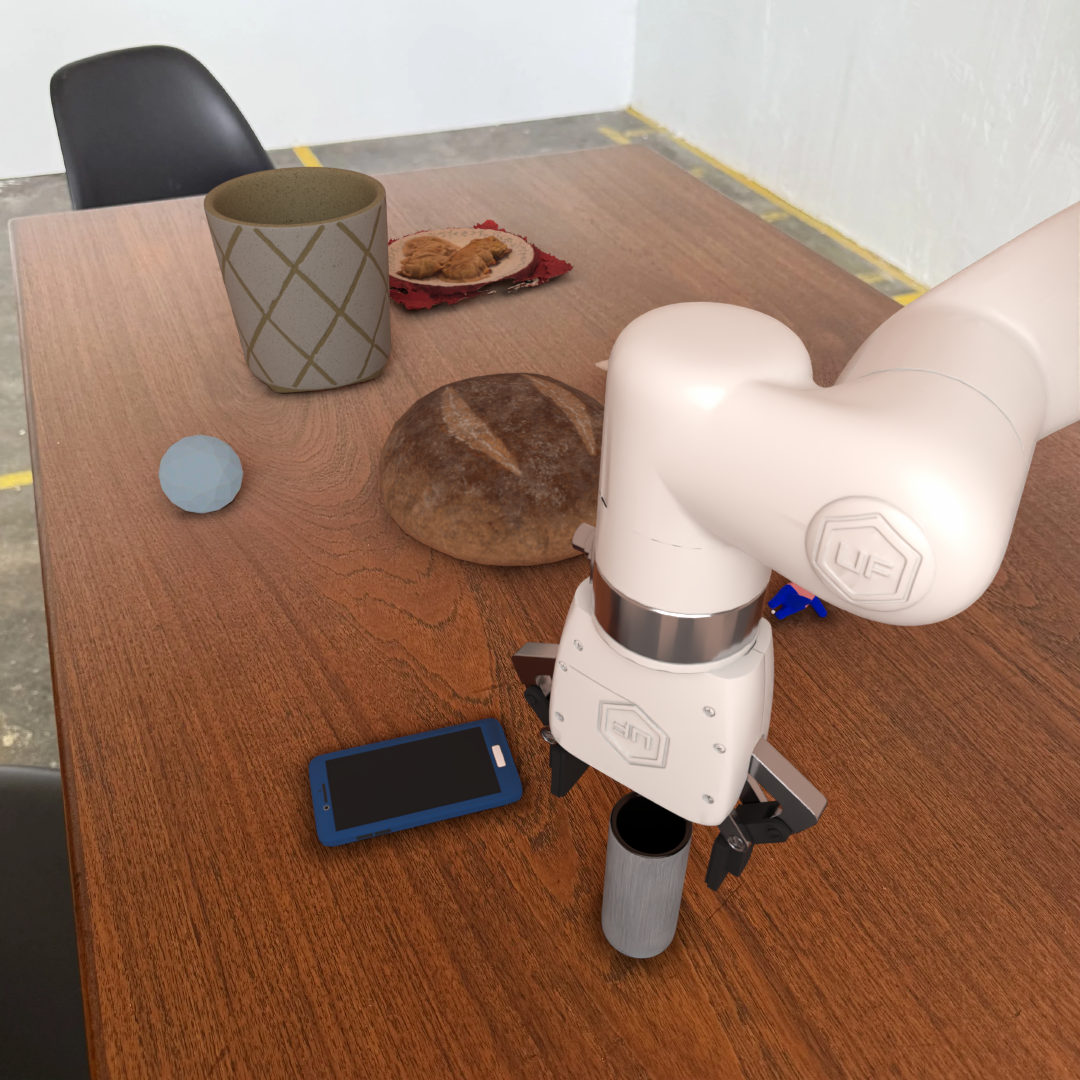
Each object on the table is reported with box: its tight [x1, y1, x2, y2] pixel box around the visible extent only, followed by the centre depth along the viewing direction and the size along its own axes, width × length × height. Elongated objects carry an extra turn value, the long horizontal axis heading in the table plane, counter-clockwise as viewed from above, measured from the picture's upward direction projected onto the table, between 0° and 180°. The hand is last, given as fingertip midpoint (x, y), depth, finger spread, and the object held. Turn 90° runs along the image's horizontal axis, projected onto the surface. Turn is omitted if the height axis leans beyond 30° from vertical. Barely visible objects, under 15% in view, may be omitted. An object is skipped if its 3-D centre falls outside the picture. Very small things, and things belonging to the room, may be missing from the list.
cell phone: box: [308, 717, 524, 847], centre depth 67 cm, size 7×14×1 cm, turn 107°
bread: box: [378, 372, 605, 567], centre depth 91 cm, size 26×27×10 cm
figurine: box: [767, 581, 828, 621], centre depth 80 cm, size 5×8×5 cm, turn 133°
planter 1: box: [203, 166, 392, 394], centre depth 109 cm, size 19×19×20 cm
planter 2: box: [601, 790, 694, 959], centre depth 56 cm, size 4×4×10 cm
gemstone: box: [157, 434, 244, 514], centre depth 93 cm, size 8×8×5 cm
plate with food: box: [388, 219, 574, 311], centre depth 137 cm, size 24×26×4 cm
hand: (644, 822), depth 53 cm, fingers open, 9 cm apart
